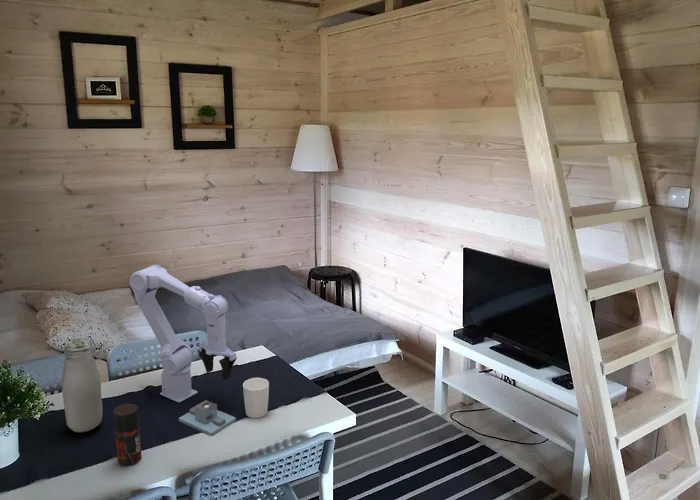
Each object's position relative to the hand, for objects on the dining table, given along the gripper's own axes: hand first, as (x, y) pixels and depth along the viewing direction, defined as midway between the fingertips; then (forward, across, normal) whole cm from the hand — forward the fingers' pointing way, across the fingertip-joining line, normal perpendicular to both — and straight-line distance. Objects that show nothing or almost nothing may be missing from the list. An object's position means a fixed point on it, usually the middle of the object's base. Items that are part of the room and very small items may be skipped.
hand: (218, 374), depth 175 cm
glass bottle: (+10, -21, -33) cm, 40 cm away
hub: (+9, +5, -10) cm, 14 cm away
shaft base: (+10, +5, -10) cm, 15 cm away
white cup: (+10, +14, +3) cm, 17 cm away
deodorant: (+10, +2, -35) cm, 36 cm away
